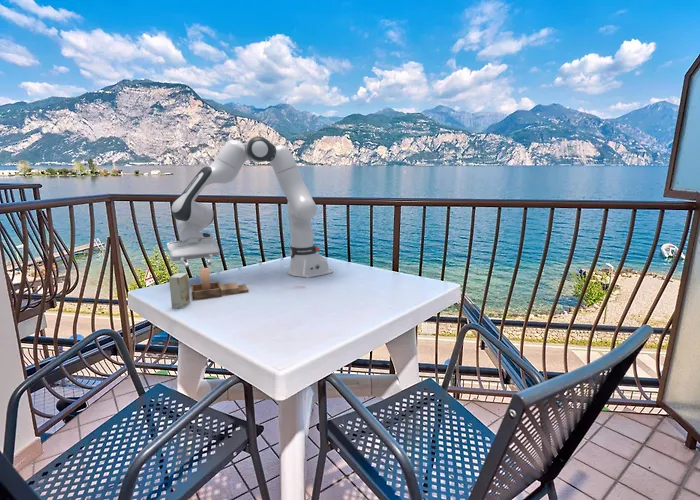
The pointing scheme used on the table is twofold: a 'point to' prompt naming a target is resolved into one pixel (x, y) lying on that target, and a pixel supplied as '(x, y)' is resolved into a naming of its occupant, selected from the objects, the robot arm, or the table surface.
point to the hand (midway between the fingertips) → (198, 265)
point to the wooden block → (205, 278)
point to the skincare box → (179, 290)
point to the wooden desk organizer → (217, 290)
